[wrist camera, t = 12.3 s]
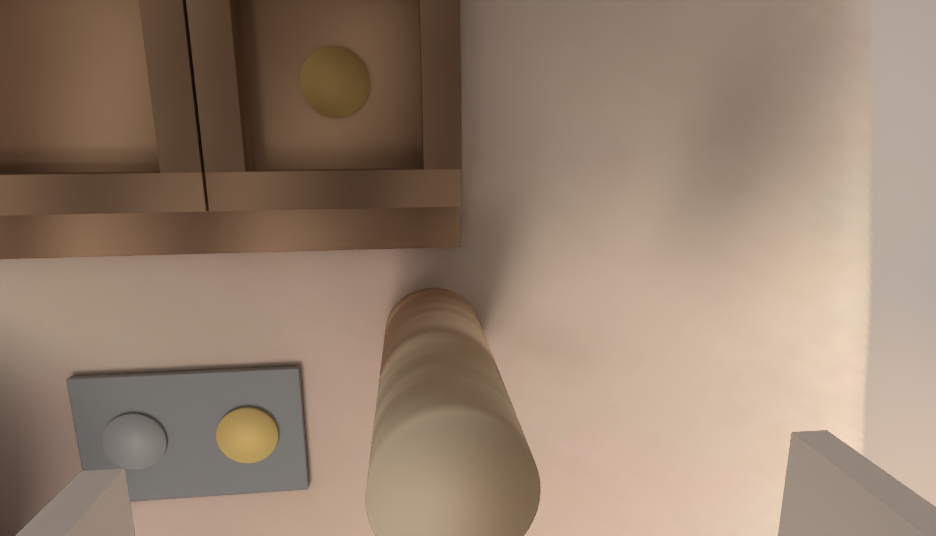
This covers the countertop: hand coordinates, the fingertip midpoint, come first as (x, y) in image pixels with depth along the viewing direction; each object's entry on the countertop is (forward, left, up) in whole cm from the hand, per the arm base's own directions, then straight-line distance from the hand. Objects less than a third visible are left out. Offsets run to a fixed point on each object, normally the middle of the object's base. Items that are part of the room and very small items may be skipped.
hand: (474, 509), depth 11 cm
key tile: (-9, -3, -10) cm, 14 cm away
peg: (0, 0, -10) cm, 10 cm away
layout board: (-7, +9, -10) cm, 16 cm away
